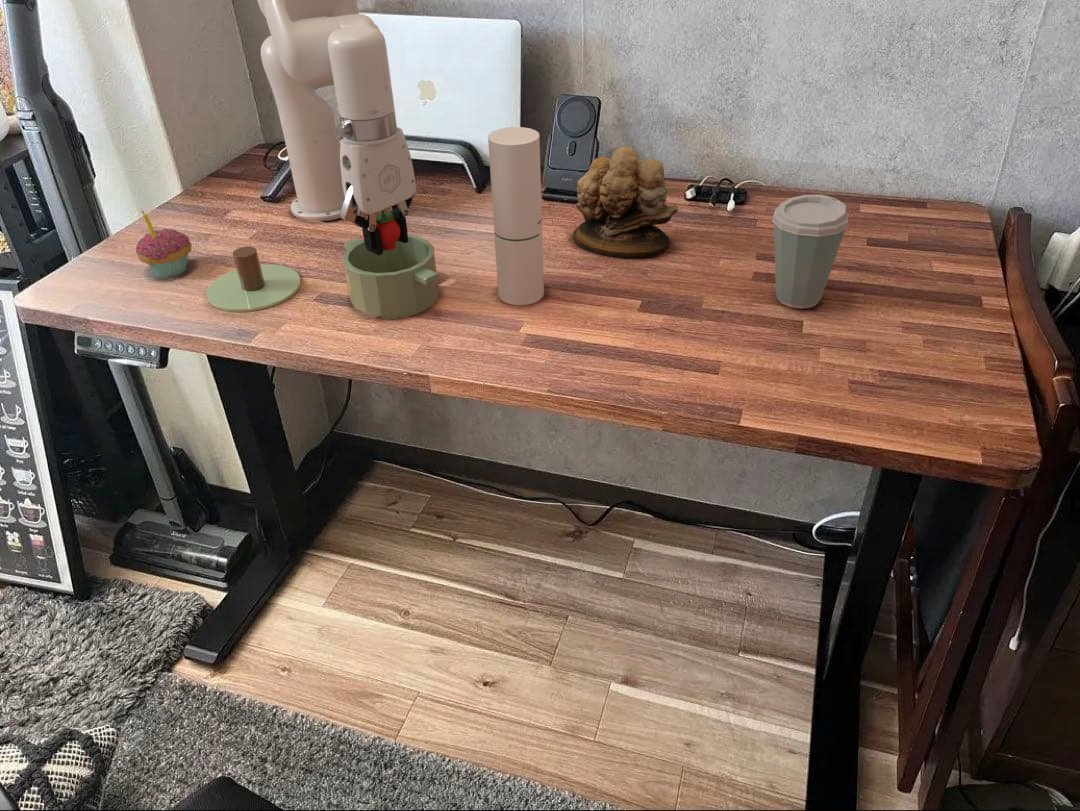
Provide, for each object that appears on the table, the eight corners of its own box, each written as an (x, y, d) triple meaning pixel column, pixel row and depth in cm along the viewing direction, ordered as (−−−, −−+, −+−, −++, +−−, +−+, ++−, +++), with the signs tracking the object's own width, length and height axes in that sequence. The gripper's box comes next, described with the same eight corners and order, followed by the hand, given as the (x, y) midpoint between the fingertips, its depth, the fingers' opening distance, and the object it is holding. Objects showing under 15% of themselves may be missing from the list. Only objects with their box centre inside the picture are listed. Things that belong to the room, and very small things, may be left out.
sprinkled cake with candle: (180, 286, 138) (158, 217, 130) (134, 282, 139) (109, 214, 132) (207, 261, 144) (187, 195, 137) (162, 258, 146) (140, 192, 139)
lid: (267, 261, 144) (257, 223, 139) (320, 288, 136) (311, 247, 132) (189, 295, 135) (177, 255, 131) (241, 325, 127) (229, 284, 123)
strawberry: (389, 238, 130) (384, 201, 127) (408, 245, 128) (403, 209, 124) (367, 248, 127) (361, 211, 124) (386, 256, 125) (380, 219, 122)
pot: (388, 263, 142) (382, 221, 138) (468, 298, 132) (464, 254, 127) (322, 294, 134) (313, 252, 130) (402, 335, 124) (396, 290, 119)
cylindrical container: (550, 285, 134) (546, 129, 119) (535, 308, 129) (529, 147, 114) (508, 279, 136) (499, 125, 121) (491, 301, 131) (480, 142, 116)
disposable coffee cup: (792, 323, 123) (809, 228, 114) (745, 291, 131) (758, 200, 122) (847, 304, 127) (868, 211, 118) (799, 274, 135) (814, 185, 126)
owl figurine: (682, 234, 147) (690, 138, 137) (665, 265, 139) (672, 164, 128) (584, 221, 153) (584, 127, 142) (562, 250, 144) (561, 152, 134)
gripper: (337, 148, 110) (360, 274, 121) (432, 114, 120) (445, 233, 130) (302, 136, 114) (327, 259, 125) (397, 104, 124) (412, 221, 135)
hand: (387, 245), depth 127 cm, fingers closed on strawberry, 4 cm apart
